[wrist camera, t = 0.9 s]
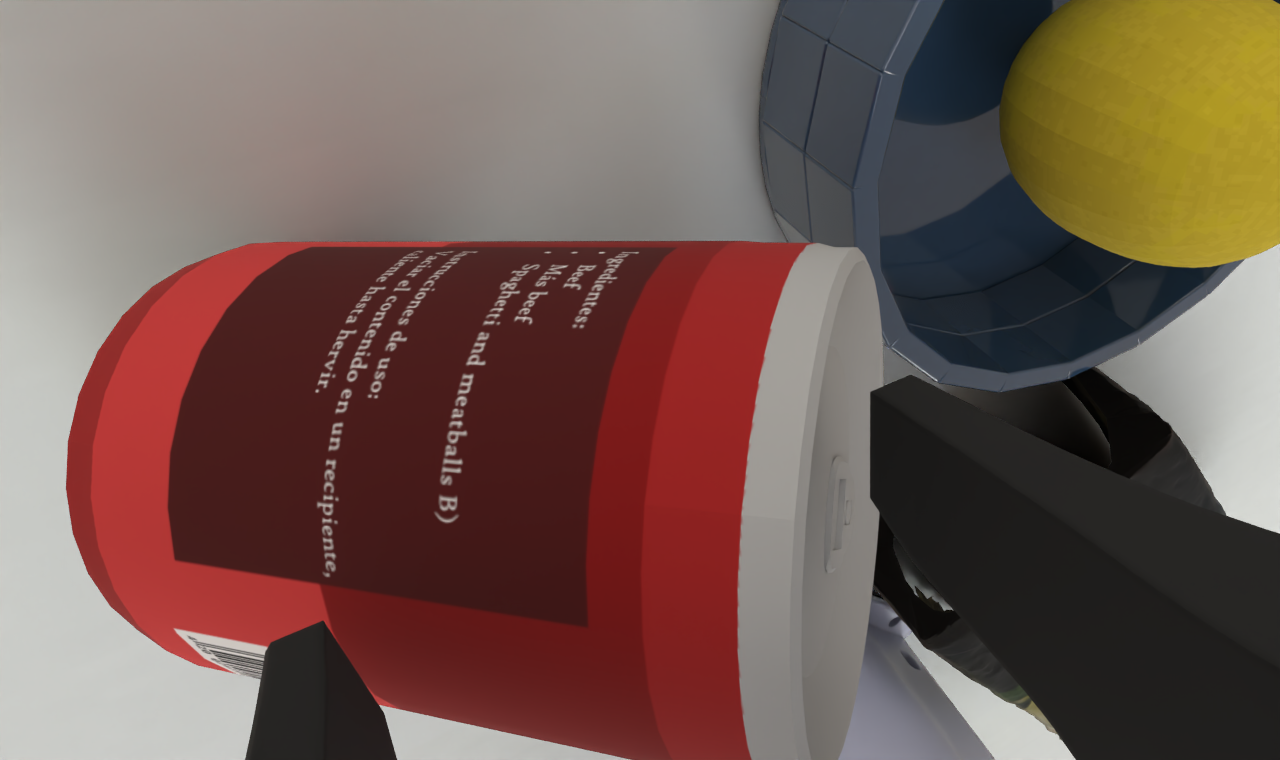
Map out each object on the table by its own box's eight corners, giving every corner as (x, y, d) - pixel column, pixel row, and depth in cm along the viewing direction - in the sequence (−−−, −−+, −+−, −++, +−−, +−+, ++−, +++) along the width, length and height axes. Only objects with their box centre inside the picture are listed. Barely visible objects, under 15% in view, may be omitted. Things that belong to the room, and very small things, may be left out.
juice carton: (1193, 534, 42) (1316, 640, 37) (1021, 672, 44) (1119, 790, 39) (1041, 307, 29) (1202, 427, 24) (806, 517, 31) (914, 667, 26)
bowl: (1322, -11, 25) (1474, 32, 22) (954, 379, 29) (1043, 460, 26) (1133, -511, 16) (1345, -549, 14) (635, 142, 20) (717, 224, 17)
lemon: (940, -32, 20) (1262, 93, 14) (1146, -88, 21) (1521, 6, 15) (920, 195, 24) (1171, 371, 18) (1098, 136, 25) (1388, 283, 19)
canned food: (390, 570, 22) (876, 643, 18) (75, 754, 14) (789, 947, 10) (370, 235, 20) (892, 235, 16) (12, 247, 13) (804, 253, 9)
